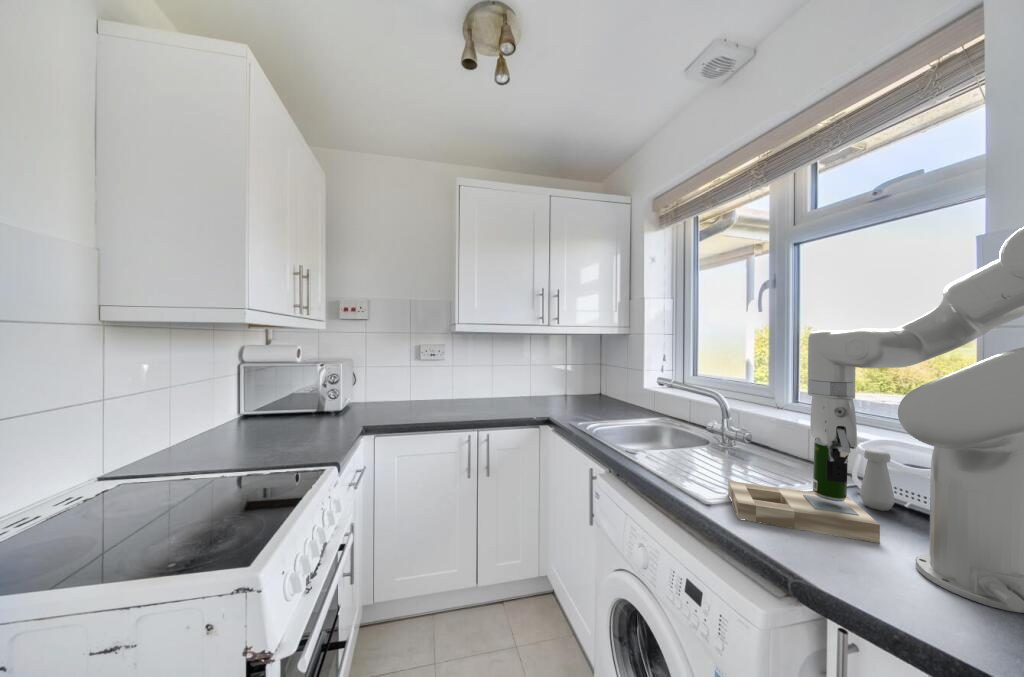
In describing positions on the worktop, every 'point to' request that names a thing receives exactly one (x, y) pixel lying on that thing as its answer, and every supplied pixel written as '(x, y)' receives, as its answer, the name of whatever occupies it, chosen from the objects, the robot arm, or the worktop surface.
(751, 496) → the can block
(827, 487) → the beer can
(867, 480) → the salt shaker
